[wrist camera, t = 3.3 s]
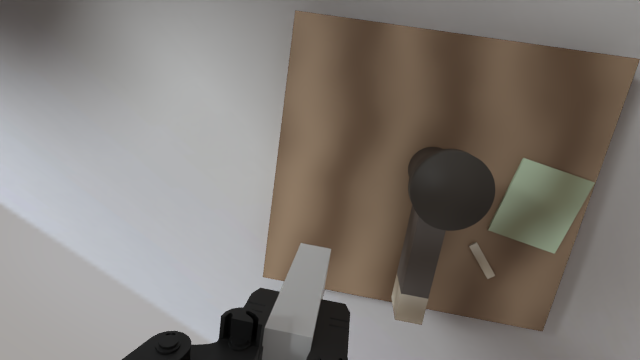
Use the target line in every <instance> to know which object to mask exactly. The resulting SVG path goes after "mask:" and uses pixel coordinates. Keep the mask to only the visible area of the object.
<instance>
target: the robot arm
mask: <svg viewBox="0 0 640 360" xmlns="http://www.w3.org/2000/svg"><path fill="white" fill-rule="evenodd" d="M330 253H331V249H329V248H324V247H319V246H314V245H308V244H303V243H301V244H300V246H299V249H298V251H297V253H296V256H295V258H294V260H293V263H292V265H291V267H290V270H289V272H288V274H287V277H286V279H285V281H284V284H283V286H282V288H281V291H280V292H278V291H273V290H269V289H264V288H259V289H258V290H256V291H255V292H253V293H252V294H251V296H250V297H249V299H248V301H247V303H246V304H245V306H244V308H234V309H231V310H228V311H226V312H225V313H224V314H223V315H222V316H221V323H220V334H219V339H218V341H217V342H215V343H211V344H203V345H191V340H190V338H189V336H187V335H186V334H184V333H181V332H178V331H167V332H163V333H159V334H157V335H155V336H153V337H151V338H150V339H149V340H147V341H146V342H145V343H143V344H142V345H141V346H139V347H138V348H137V349H135V350H134V351H133V352H131V353H130V354H129V355H127V356H126V357H125V358H123V359H122V360H348V358H347V354H348V338H349V322H350V312H349V310H348V308H347V306H346V304H342V303H337V302H332V301H327V300H323V294H324V288H325V282H326V277H327V271H328V265H329V259H330Z"/></svg>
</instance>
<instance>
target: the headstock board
mask: <svg viewBox="0 0 640 360" xmlns="http://www.w3.org/2000/svg"><path fill="white" fill-rule="evenodd" d="M639 60H640V59H636V58H629V57H621V56H614V55H607V54H600V53H593V52H586V51H579V50H572V49H565V48H558V47H550V46H543V45H536V44H529V43H522V42H515V41H508V40H501V39H494V38H487V37H479V36H472V35H465V34H458V33H451V32H444V31H437V30H430V29H423V28H416V27H408V26H401V25H394V24H387V23H380V22H373V21H366V20H359V19H352V18H345V17H337V16H330V15H323V14H316V13H309V12H302V11H295V17H294V25H293V33H292V42H291V50H290V58H289V66H288V75H287V83H286V91H285V99H284V107H283V116H282V124H281V132H280V140H279V149H278V157H277V165H276V173H275V181H274V190H273V198H272V206H271V214H270V222H269V231H268V239H267V247H266V255H265V264H264V272H263V277H265V278H271V279H276V280H281V281H285V279H286V277H287V274H288V272H289V270H290V267H291V265H292V263H293V260H294V258H295V256H296V253H297V251H298V249H299V246H300V244H301V243H303V244H308V245H314V246H319V247H324V248H329V249H331V253H330V259H329V265H328V271H327V277H326V282H325V288H324V289H327V290H332V291H337V292H343V293H348V294H353V295H358V296H363V297H368V298H373V299H378V300H384V301H389V302H392V297H391V296H392V292H393V288H394V283H395V279H396V274H397V270H398V266H399V261H400V257H401V252H402V248H403V243H404V239H405V235H406V230H407V226H408V221H409V217H410V213H411V208H412V203H411V201H410V198H409V194H408V182H409V175H408V165H409V162H410V160H411V158H412V157H413V155H414V154H415V153H417V152H418V151H419V150H421V149H423V148H426V147H439V148H442V149H458V150H462V151H465V152H467V153H469V154H471V155H473V156H475V157H476V158H478V159H479V160H481V161H482V162H483V163H484V164H485V165H486V166H487V167H488V168H489V170H490V171H491V173H492V175H493V178H494V182H495V197H494V201H493V204H492V206H491V208H490V210H489V211H488V213H487V214H486V215H485V216H484V217H483V218H482V219H481V220H480V221H479V222H477V223H476V224H474V225H472V226H470V227H468V228H465V229H461V230H455V231H446V232H445V236H444V240H443V244H442V247H441V251H440V255H439V259H438V263H437V267H436V271H435V275H434V279H433V282H432V286H431V290H430V294H429V298H428V302H427V306H426V309H430V310H435V311H440V312H445V313H450V314H456V315H461V316H466V317H471V318H476V319H481V320H486V321H492V322H497V323H502V324H507V325H512V326H517V327H522V328H528V329H533V330H538V331H543V329H544V326H545V323H546V320H547V317H548V315H549V312H550V309H551V306H552V303H553V301H554V298H555V295H556V292H557V289H558V287H559V284H560V281H561V278H562V275H563V273H564V270H565V267H566V264H567V261H568V259H569V256H570V253H571V250H572V247H573V245H574V242H575V239H576V236H577V233H578V231H579V228H580V225H581V222H582V220H583V217H584V214H585V211H586V208H587V206H588V203H589V200H590V197H591V194H592V192H593V189H594V186H595V183H596V180H597V178H598V175H599V172H600V169H601V166H602V164H603V161H604V158H605V155H606V152H607V150H608V147H609V144H610V141H611V138H612V136H613V133H614V130H615V127H616V124H617V122H618V119H619V116H620V113H621V110H622V108H623V105H624V102H625V99H626V96H627V94H628V91H629V88H630V85H631V83H632V80H633V77H634V74H635V71H636V69H637V66H638V63H639Z"/></svg>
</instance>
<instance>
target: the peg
mask: <svg viewBox="0 0 640 360" xmlns="http://www.w3.org/2000/svg"><path fill="white" fill-rule="evenodd" d="M408 175H409V182H408V194H409V198H410V201H411V203H412V208H411V213H410V217H409V221H408V226H407V230H406V235H405V239H404V243H403V248H402V252H401V257H400V261H399V266H398V270H397V274H396V279H395V283H394V288H393V292H392V296H391V297H392V304H393V310H394V317H395V320H399V321H404V322H410V323H415V324H420V325H422V321H423V318H424V314H425V310H426V306H427V302H428V298H429V294H430V290H431V286H432V282H433V279H434V275H435V271H436V267H437V263H438V259H439V255H440V251H441V247H442V244H443V240H444V236H445V232H446V231H455V230H461V229H465V228H468V227H470V226H472V225H474V224H476V223H477V222H479V221H480V220H481V219H482V218H483V217H484V216H485V215H486V214H487V213H488V211H489V210H490V208H491V206H492V204H493V201H494V197H495V182H494V178H493V175H492V173H491V171H490V170H489V168H488V167H487V166H486V165H485V164H484V163H483V162H482V161H481V160H479V159H478V158H476V157H475V156H473V155H471V154H469V153H467V152H465V151H462V150H458V149H442V148H439V147H426V148H423V149H421V150H419V151H418V152H417V153H415V154H414V155H413V157H412V158H411V160H410V162H409V165H408Z"/></svg>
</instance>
